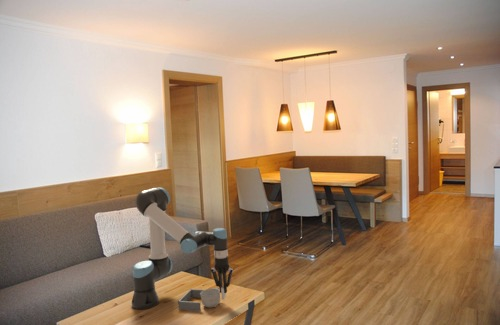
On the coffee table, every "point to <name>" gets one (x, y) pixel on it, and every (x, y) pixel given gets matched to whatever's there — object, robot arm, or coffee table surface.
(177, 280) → the coffee table surface
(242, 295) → the coffee table surface
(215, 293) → the teacup
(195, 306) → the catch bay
